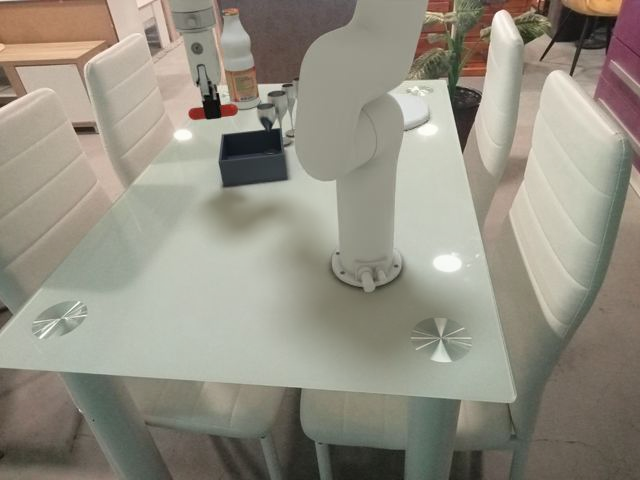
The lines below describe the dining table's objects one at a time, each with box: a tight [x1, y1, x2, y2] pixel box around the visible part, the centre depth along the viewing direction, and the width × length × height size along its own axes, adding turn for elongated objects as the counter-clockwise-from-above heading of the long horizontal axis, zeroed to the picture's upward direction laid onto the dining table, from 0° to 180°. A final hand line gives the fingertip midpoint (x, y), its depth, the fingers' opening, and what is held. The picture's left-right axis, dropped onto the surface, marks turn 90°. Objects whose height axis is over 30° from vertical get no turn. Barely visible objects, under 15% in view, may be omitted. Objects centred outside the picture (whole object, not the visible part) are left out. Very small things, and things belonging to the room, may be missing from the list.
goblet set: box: [256, 76, 300, 154], centre depth 129 cm, size 28×6×13 cm, turn 153°
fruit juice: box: [219, 8, 261, 110], centre depth 146 cm, size 9×9×28 cm
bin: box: [217, 127, 288, 187], centre depth 117 cm, size 15×15×6 cm
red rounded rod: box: [187, 103, 239, 121], centre depth 97 cm, size 10×2×2 cm, turn 98°
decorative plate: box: [388, 92, 430, 131], centre depth 138 cm, size 25×4×25 cm
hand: (214, 114), depth 98 cm, fingers closed on red rounded rod, 2 cm apart
